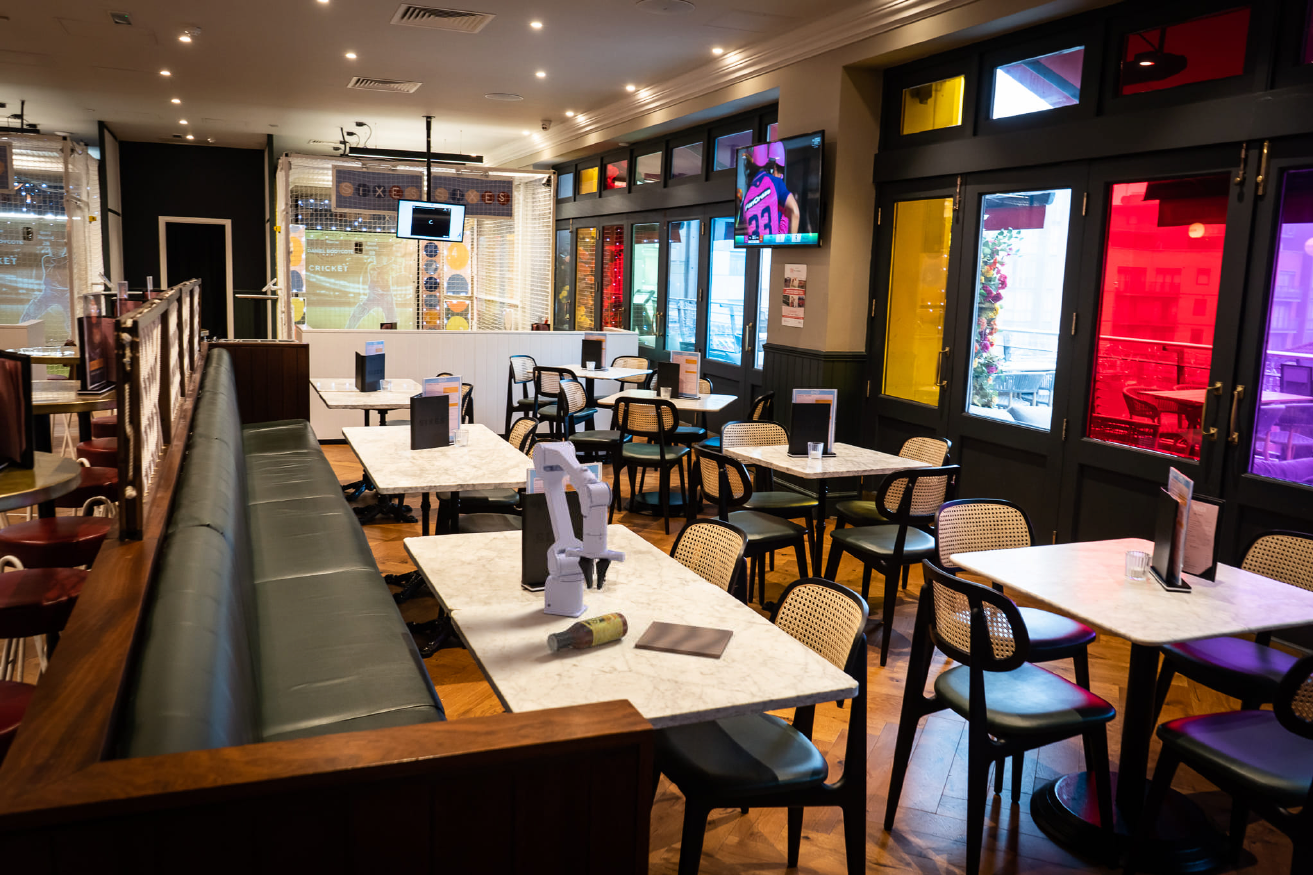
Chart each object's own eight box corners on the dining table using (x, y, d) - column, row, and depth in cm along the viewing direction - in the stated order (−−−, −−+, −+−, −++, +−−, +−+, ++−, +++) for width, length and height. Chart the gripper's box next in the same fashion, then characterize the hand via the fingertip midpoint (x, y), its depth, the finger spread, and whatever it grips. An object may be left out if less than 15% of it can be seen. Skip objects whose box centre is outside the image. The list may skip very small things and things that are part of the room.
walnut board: (635, 647, 216) (635, 643, 216) (653, 624, 231) (653, 621, 231) (720, 658, 211) (720, 654, 211) (733, 633, 226) (733, 630, 226)
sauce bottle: (626, 609, 220) (558, 627, 207) (631, 636, 219) (564, 655, 206) (609, 613, 225) (542, 630, 212) (614, 638, 224) (547, 657, 211)
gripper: (560, 534, 221) (560, 590, 223) (619, 539, 218) (618, 595, 219) (571, 527, 228) (570, 582, 230) (627, 532, 224) (627, 587, 226)
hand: (594, 588), depth 225 cm, fingers closed
